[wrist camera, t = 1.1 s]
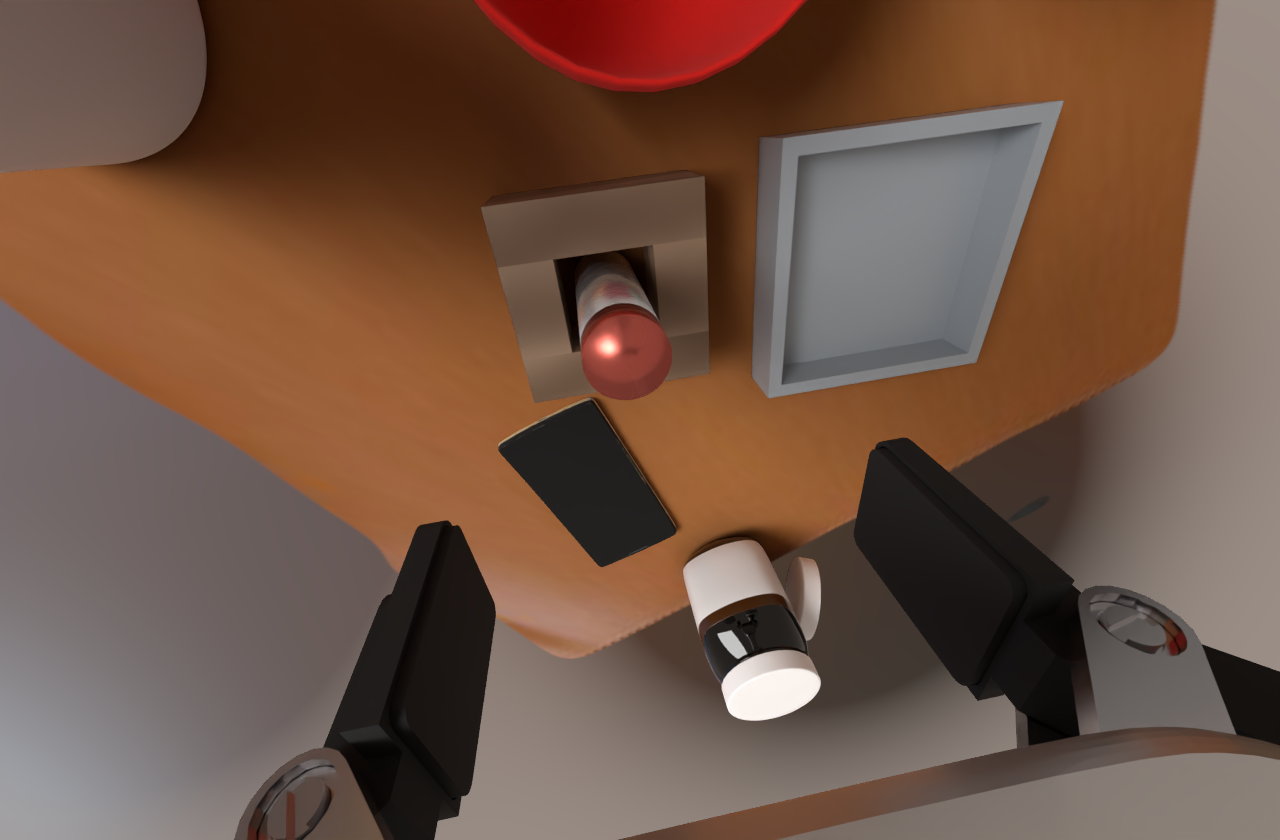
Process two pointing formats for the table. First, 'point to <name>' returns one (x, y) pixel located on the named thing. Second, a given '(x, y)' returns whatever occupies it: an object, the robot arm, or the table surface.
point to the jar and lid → (755, 626)
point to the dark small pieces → (589, 482)
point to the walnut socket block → (594, 223)
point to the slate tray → (888, 242)
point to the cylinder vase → (96, 80)
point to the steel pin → (618, 329)
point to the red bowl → (639, 37)
